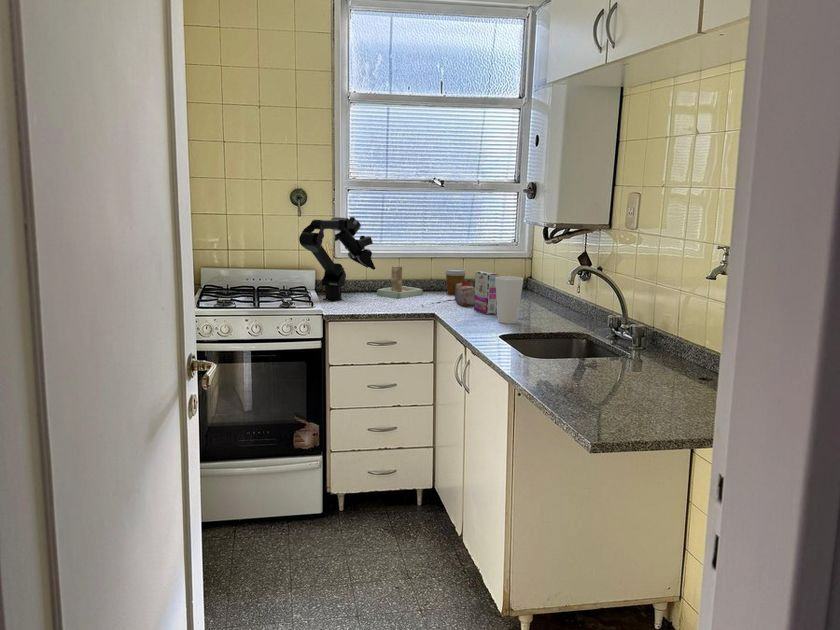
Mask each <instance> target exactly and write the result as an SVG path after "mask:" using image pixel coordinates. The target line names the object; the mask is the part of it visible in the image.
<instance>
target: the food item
mask: <svg viewBox="0 0 840 630" xmlns="http://www.w3.org/2000/svg"><path fill="white" fill-rule="evenodd" d="M474 296H475V286H473V284H472V282H471V281H469V282H468V281H464V282H463V283H458V284H456V287H455V295H454V302H456V303H457V305H461V306H463V307H474Z"/></svg>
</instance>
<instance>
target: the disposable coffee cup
mask: <svg viewBox="0 0 840 630" xmlns="http://www.w3.org/2000/svg"><path fill="white" fill-rule="evenodd" d="M466 273H467V272H466V269H461V268H447V269H446V270H445V272H444V274H445V278H446V279H445V280H446V291H447V295H450V296H455V287H456V284H458V283H463V282H465V276H466Z"/></svg>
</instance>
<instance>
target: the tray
mask: <svg viewBox="0 0 840 630" xmlns="http://www.w3.org/2000/svg"><path fill="white" fill-rule="evenodd" d="M402 289H403V290H409V291H404V292H394V291H391V286H390V287H383V288H379V289H378V288H377V290H376V291H377V292H376V295H377V296H381V297H387V298H393V299H405V298H411V297H418V296H422V295H423V291H424V290H423V289H422V288H418V287H411V286H405V285H404V286H403V285H402Z"/></svg>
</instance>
